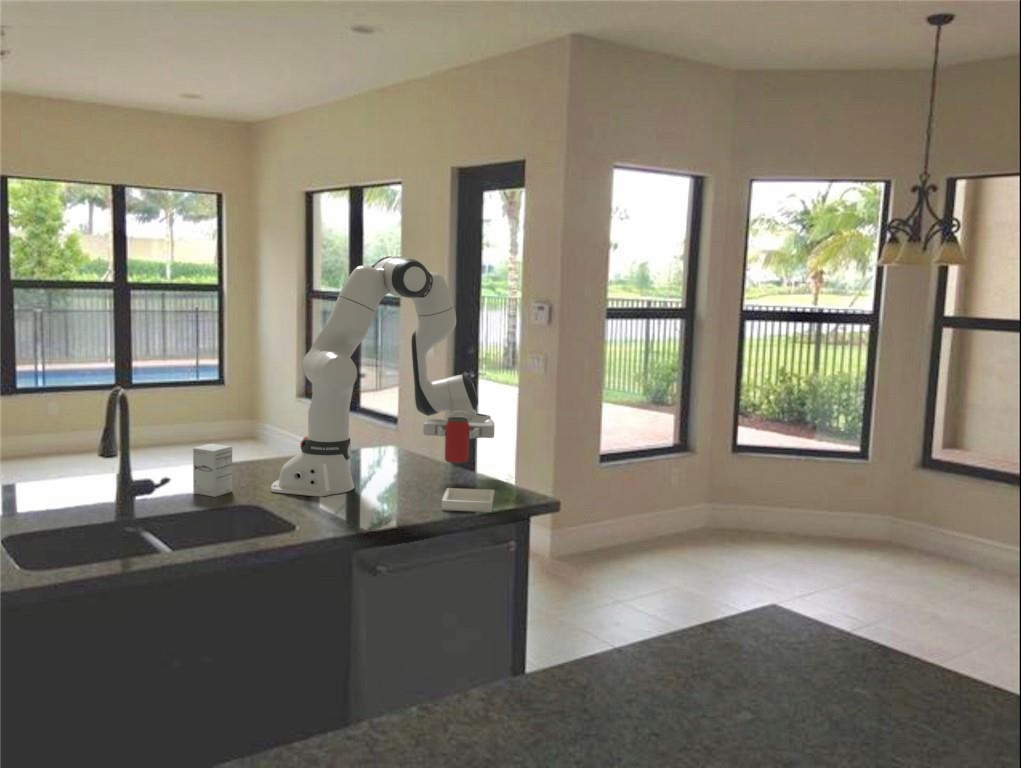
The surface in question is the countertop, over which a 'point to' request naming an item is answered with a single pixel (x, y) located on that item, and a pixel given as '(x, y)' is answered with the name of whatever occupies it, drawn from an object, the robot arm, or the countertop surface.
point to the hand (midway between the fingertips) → (457, 433)
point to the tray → (468, 500)
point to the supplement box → (212, 470)
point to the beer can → (457, 440)
